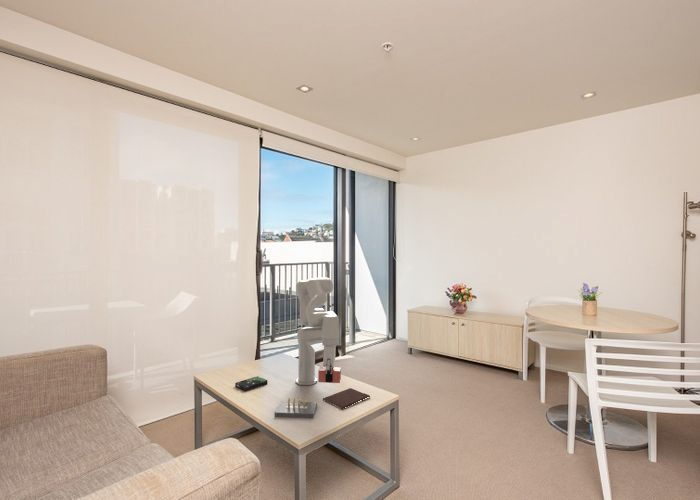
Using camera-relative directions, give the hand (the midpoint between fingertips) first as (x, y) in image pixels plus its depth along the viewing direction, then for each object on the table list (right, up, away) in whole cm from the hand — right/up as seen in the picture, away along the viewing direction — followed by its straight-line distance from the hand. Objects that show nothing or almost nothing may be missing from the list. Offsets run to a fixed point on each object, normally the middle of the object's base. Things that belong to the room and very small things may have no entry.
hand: (329, 379), depth 165 cm
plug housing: (0, -1, 0) cm, 1 cm away
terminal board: (-16, -16, +3) cm, 23 cm away
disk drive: (-46, -17, +34) cm, 60 cm away
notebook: (+8, -17, +17) cm, 26 cm away
